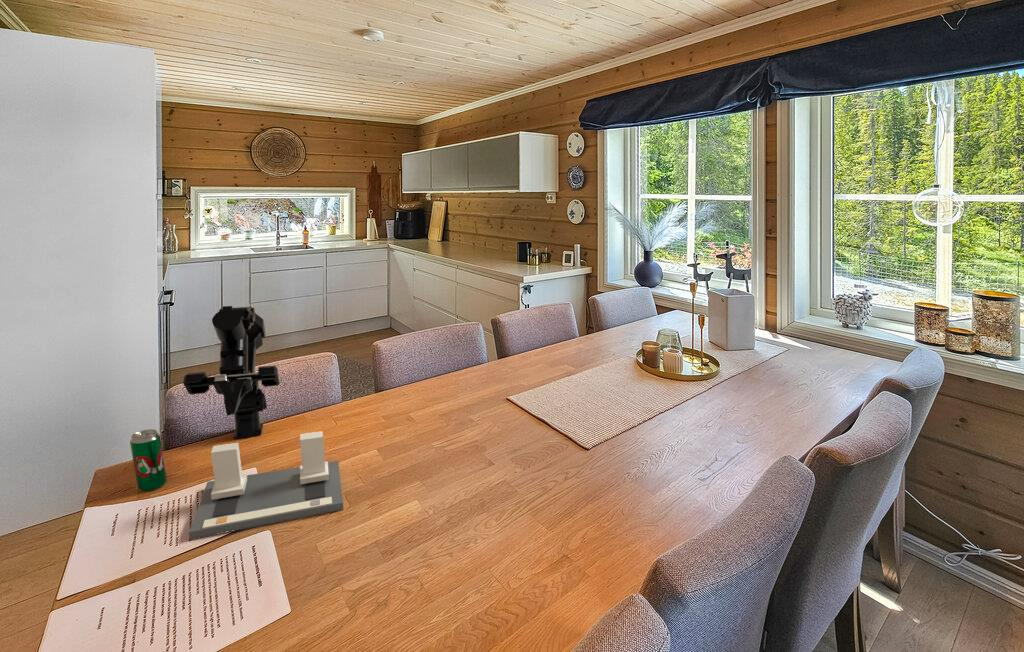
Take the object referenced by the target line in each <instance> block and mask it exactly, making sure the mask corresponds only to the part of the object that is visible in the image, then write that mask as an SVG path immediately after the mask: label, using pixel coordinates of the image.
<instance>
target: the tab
mask: <svg viewBox="0 0 1024 652" xmlns="http://www.w3.org/2000/svg"><path fill="white" fill-rule="evenodd" d="M299 440H300V441H299V442H300V452H301V453H300V454H301V465H300V466H299V467H300V484H306V483H312V482H318V481H323V480H329V471H328V462H329V461H325V459H326V458H325V446H324V434H323V430H321V431H313V432H305V433H300V436H299Z"/></svg>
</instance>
